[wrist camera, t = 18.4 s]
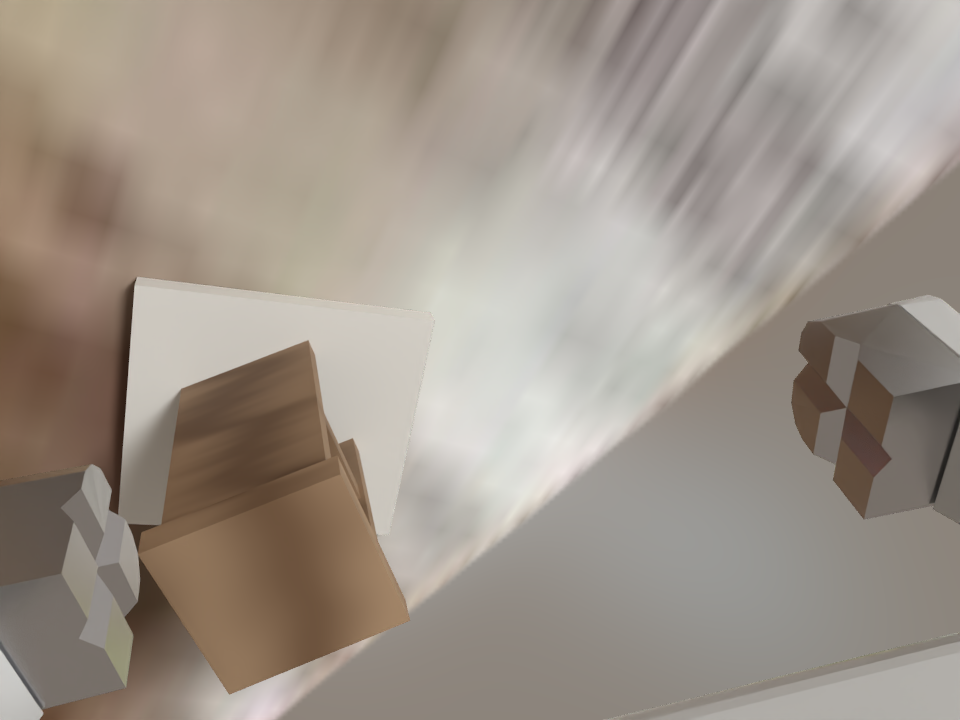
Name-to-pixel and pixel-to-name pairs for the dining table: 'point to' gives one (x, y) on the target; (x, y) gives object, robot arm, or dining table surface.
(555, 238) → the dining table surface
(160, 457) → the mat
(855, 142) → the dining table surface
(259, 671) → the stool
